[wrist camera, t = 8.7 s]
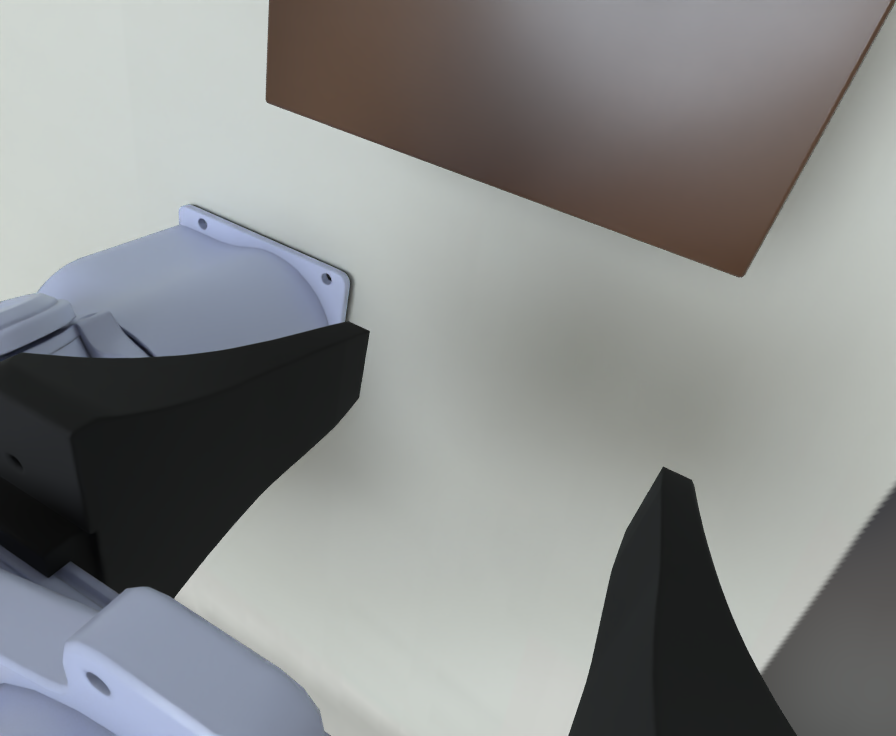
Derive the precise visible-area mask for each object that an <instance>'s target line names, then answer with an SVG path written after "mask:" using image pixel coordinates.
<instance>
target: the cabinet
mask: <svg viewBox="0 0 896 736" xmlns="http://www.w3.org/2000/svg"><path fill="white" fill-rule="evenodd" d="M895 2H896V0H269V18H268V46H267V74H266V102H267V103H269V104H272V105H274V106H277V107H280V108H283V109H285V110H288V111H291V112H293V113H296V114H299V115H301V116H304V117H307V118H310V119H312V120H315V121H318V122H320V123H323V124H326V125H328V126H331V127H334V128H337V129H339V130H342V131H345V132H347V133H350V134H353V135H355V136H358V137H361V138H364V139H366V140H369V141H372V142H374V143H377V144H380V145H382V146H385V147H388V148H391V149H393V150H396V151H399V152H401V153H404V154H407V155H409V156H412V157H415V158H418V159H420V160H423V161H426V162H428V163H431V164H434V165H436V166H439V167H442V168H445V169H447V170H450V171H453V172H455V173H458V174H461V175H463V176H466V177H469V178H472V179H474V180H477V181H480V182H482V183H485V184H488V185H490V186H493V187H496V188H499V189H501V190H504V191H507V192H509V193H512V194H515V195H518V196H520V197H523V198H526V199H528V200H531V201H534V202H536V203H539V204H542V205H545V206H547V207H550V208H553V209H555V210H558V211H561V212H563V213H566V214H569V215H572V216H574V217H577V218H580V219H582V220H585V221H588V222H590V223H593V224H596V225H599V226H601V227H604V228H607V229H609V230H612V231H615V232H617V233H620V234H623V235H626V236H628V237H631V238H634V239H636V240H639V241H642V242H644V243H647V244H650V245H653V246H655V247H658V248H661V249H663V250H666V251H669V252H671V253H674V254H677V255H680V256H682V257H685V258H688V259H690V260H693V261H696V262H698V263H701V264H704V265H707V266H709V267H712V268H715V269H717V270H720V271H723V272H725V273H728V274H731V275H734V276H736V277H743V276H744V275H745V274H746V272H747V270H748V269H749V267H750V265H751V263H752V261H753V259H754V258H755V256H756V254H757V252H758V250H759V249H760V247H761V245H762V243H763V241H764V240H765V238H766V236H767V234H768V232H769V230H770V229H771V227H772V225H773V223H774V221H775V220H776V218H777V216H778V214H779V212H780V211H781V209H782V207H783V205H784V203H785V202H786V200H787V198H788V196H789V194H790V192H791V191H792V189H793V187H794V185H795V183H796V182H797V180H798V178H799V176H800V174H801V173H802V171H803V169H804V167H805V165H806V164H807V162H808V160H809V158H810V156H811V154H812V153H813V151H814V149H815V147H816V145H817V144H818V142H819V140H820V138H821V136H822V135H823V133H824V131H825V129H826V127H827V125H828V124H829V122H830V120H831V118H832V116H833V115H834V113H835V111H836V109H837V107H838V106H839V104H840V102H841V100H842V98H843V97H844V95H845V93H846V91H847V89H848V87H849V86H850V84H851V82H852V80H853V78H854V77H855V75H856V73H857V71H858V69H859V68H860V66H861V64H862V62H863V60H864V59H865V57H866V55H867V53H868V51H869V49H870V48H871V46H872V44H873V42H874V40H875V39H876V37H877V35H878V33H879V31H880V30H881V28H882V26H883V24H884V22H885V20H886V19H887V17H888V15H889V13H890V11H891V10H892V8H893V6H894V4H895Z"/></svg>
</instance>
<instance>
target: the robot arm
mask: <svg viewBox="0 0 896 736" xmlns="http://www.w3.org/2000/svg"><path fill="white" fill-rule="evenodd" d="M205 221H206V223H207V225H206V223H205ZM327 274H328V275H329V276H330V277H331V281H332V282H331V281H330V280H329V279H328V278H327ZM349 288H350V280H349V278H348V276H347V275H346V273H344V272H343V271H341V270H339V269H337V268H334V267H332V266H330V265H328V264H325V263H323V262H321V261H318V260H316V259H314V258H312V257H309V256H307V255H305V254H303V253H300V252H298V251H296V250H293V249H291V248H289V247H287V246H284V245H282V244H280V243H277V242H275V241H273V240H271V239H268V238H266V237H264V236H261V235H259V234H257V233H255V232H252V231H250V230H248V229H246V228H243V227H241V226H239V225H236V224H234V223H232V222H230V221H227V220H225V219H223V218H220V217H218V216H216V215H214V214H211V213H209V212H207V211H204V210H202V209H200V208H198V207H195V206H193V205H190V204H187V205H184V206H181V207H180V209H179V225H177V226H174V227H171V228H168V229H165V230H162V231H159V232H156V233H153V234H150V235H147V236H144V237H141V238H138V239H135V240H133V241H130V242H127V243H124V244H121V245H118V246H115V247H112V248H109V249H106V250H103V251H100V252H97V253H94V254H91V255H88V256H85V257H82V258H79V259H77V260H75V261H73V262H71V263H69V264H67V265H65V266H64V267H62V268H61V269H59V270H58V271H57V272H56V273H54V274H53V275H52V276H51V277H50V278H49V279H48V280H47V281H46V282H45V283H44V284H43V285H42V287H41V288H40V289H39V290H38V292H37V293H34V294H28V295H24V296H19V297H15V298H12V299H8V300H4V301H1V302H0V736H331V735H329V734H328V733H326V732H325V731H324V727H323V723H322V718H321V713H320V710H319V709H318V707H317V706H316V704H315V703H314V702H313V700H312V699H311V697H310V696H309V695H308V693H307V692H306V691H305V689H304V688H303V687H302V686H301V685H299V684H298V683H297V682H296V681H295V680H293V679H292V678H291V677H290V676H289V675H287V674H286V673H285V672H284V671H283V670H281V669H280V668H279V667H277V666H276V665H274V664H273V663H271V662H270V661H268V660H266V659H265V658H263V657H262V656H260V655H259V654H257V653H256V652H254V651H253V650H251V649H250V648H248V647H247V646H245V645H243V644H242V643H240V642H239V641H237V640H236V639H234V638H233V637H231V636H230V635H228V634H227V633H225V632H224V631H222V630H220V629H219V628H217V627H216V626H214V625H213V624H211V623H210V622H208V621H207V620H205V619H204V618H202V617H201V616H199V615H197V614H196V613H194V612H193V611H191V610H190V609H188V608H187V607H185V606H184V605H182V604H181V603H179V602H178V601H176V600H174V598H175V596H176V595H177V594H178V592H179V591H180V590H181V588H182V587H183V586H184V585H185V583H186V582H187V581H188V580H189V578H190V577H191V576H192V575H193V573H194V572H195V571H196V570H197V568H198V567H199V566H200V565H201V563H202V562H203V561H204V559H205V558H206V557H207V556H208V555H209V553H210V552H211V551H212V550H213V549H214V547H215V546H216V545H217V544H218V543H219V542H220V540H221V539H222V538H223V537H224V536H225V534H226V533H227V532H228V531H229V530H230V529H231V527H232V526H233V525H234V524H235V523H236V522H237V521H238V519H239V518H240V517H241V516H242V515H243V514H244V513H245V512H246V510H247V509H248V508H249V507H250V506H251V505H252V504H253V503H254V502H255V500H256V499H257V498H258V497H259V496H260V495H261V494H262V493H263V492H264V491H265V490H266V489H267V488H268V487H269V486H270V485H271V484H272V483H273V482H274V481H276V480H277V479H278V478H279V477H280V476H281V475H282V474H283V473H284V472H286V471H287V470H288V469H289V468H290V467H291V466H292V465H293V464H295V463H296V462H297V461H298V460H299V459H300V458H301V457H302V456H303V455H305V454H306V453H307V452H308V451H309V450H310V449H311V448H312V447H314V446H315V445H316V444H317V443H318V442H319V441H320V440H321V439H322V438H323V437H324V436H326V435H327V434H328V433H329V432H330V431H331V430H332V429H333V428H334V427H335V426H336V425H337V424H338V423H339V421H340V420H341V419H342V418H343V417H344V416H345V414H346V413H347V412H348V411H349V410H350V408H351V407H352V406H353V405H354V403H355V402H356V401H357V400H358V398H359V394H360V388H361V382H362V376H363V370H364V364H365V357H366V351H367V345H368V339H369V333H370V331H368V330H366V329H364V328H362V327H359V326H357V325H355V324H353V323H351V322H349V321H348V322H345V318H346V311H347V303H348V296H349ZM568 736H797V735H796V733H795V732H794V730H793V729H792V727H791V726H790V724H789V723H788V721H787V719H786V718H785V716H784V714H783V713H782V711H781V710H780V708H779V706H778V705H777V703H776V701H775V700H774V698H773V696H772V694H771V692H770V691H769V689H768V687H767V685H766V684H765V682H764V680H763V678H762V676H761V675H760V673H759V671H758V669H757V667H756V665H755V663H754V662H753V660H752V658H751V656H750V654H749V652H748V650H747V648H746V646H745V643H744V641H743V639H742V637H741V635H740V633H739V631H738V628H737V626H736V624H735V621H734V619H733V617H732V614H731V612H730V609H729V607H728V604H727V602H726V599H725V596H724V593H723V591H722V588H721V585H720V582H719V579H718V576H717V573H716V570H715V567H714V564H713V561H712V557H711V554H710V551H709V547H708V544H707V540H706V536H705V533H704V529H703V525H702V520H701V516H700V512H699V507H698V503H697V498H696V492H695V487H694V484H693V482H692V480H691V479H689V478H686V477H684V476H682V475H680V474H678V473H676V472H673V471H671V470H669V469H667V468H665V467H663V468H662V469H661V471H660V473H659V475H658V476H657V478H656V480H655V481H654V483H653V485H652V487H651V488H650V490H649V492H648V493H647V495H646V497H645V499H644V500H643V502H642V504H641V505H640V507H639V509H638V511H637V512H636V514H635V516H634V517H633V519H632V521H631V523H630V524H629V526H628V528H627V529H626V532H625V534H624V537H623V540H622V543H621V545H620V548H619V551H618V554H617V556H616V559H615V562H614V565H613V568H612V571H611V576H610V580H609V584H608V589H607V593H606V598H605V602H604V607H603V612H602V616H601V621H600V626H599V630H598V635H597V639H596V644H595V649H594V653H593V658H592V662H591V666H590V670H589V674H588V677H587V681H586V685H585V688H584V691H583V694H582V697H581V700H580V703H579V706H578V709H577V712H576V715H575V718H574V721H573V724H572V727H571V730H570V733H569V735H568Z"/></svg>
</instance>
